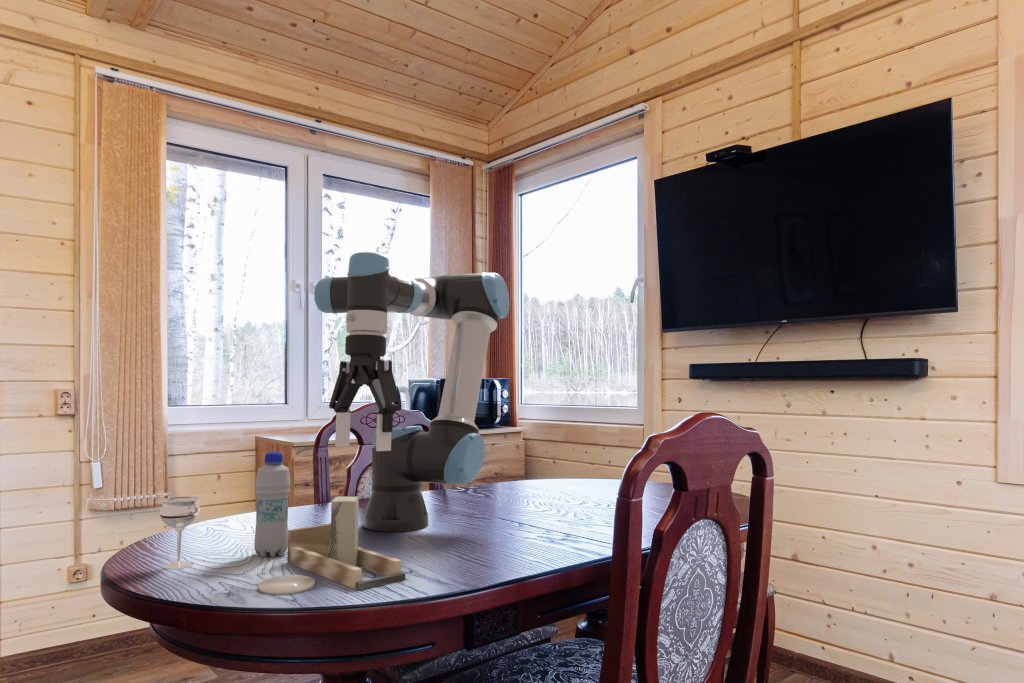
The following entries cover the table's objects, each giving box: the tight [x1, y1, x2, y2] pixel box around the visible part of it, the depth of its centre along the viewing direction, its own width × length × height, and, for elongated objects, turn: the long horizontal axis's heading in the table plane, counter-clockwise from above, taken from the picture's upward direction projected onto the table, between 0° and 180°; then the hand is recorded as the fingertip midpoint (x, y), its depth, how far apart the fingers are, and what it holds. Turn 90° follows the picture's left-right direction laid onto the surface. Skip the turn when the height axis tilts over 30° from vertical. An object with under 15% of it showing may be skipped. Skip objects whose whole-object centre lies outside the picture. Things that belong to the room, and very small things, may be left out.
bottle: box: [253, 451, 292, 558], centre depth 138 cm, size 7×7×20 cm
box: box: [329, 496, 360, 567], centre depth 126 cm, size 5×4×13 cm
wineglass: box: [159, 496, 201, 570], centre depth 129 cm, size 7×7×12 cm
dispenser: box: [287, 522, 406, 591], centre depth 126 cm, size 24×9×6 cm, turn 45°
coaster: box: [257, 574, 316, 596], centre depth 116 cm, size 9×9×1 cm
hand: (362, 448), depth 130 cm, fingers open, 13 cm apart
